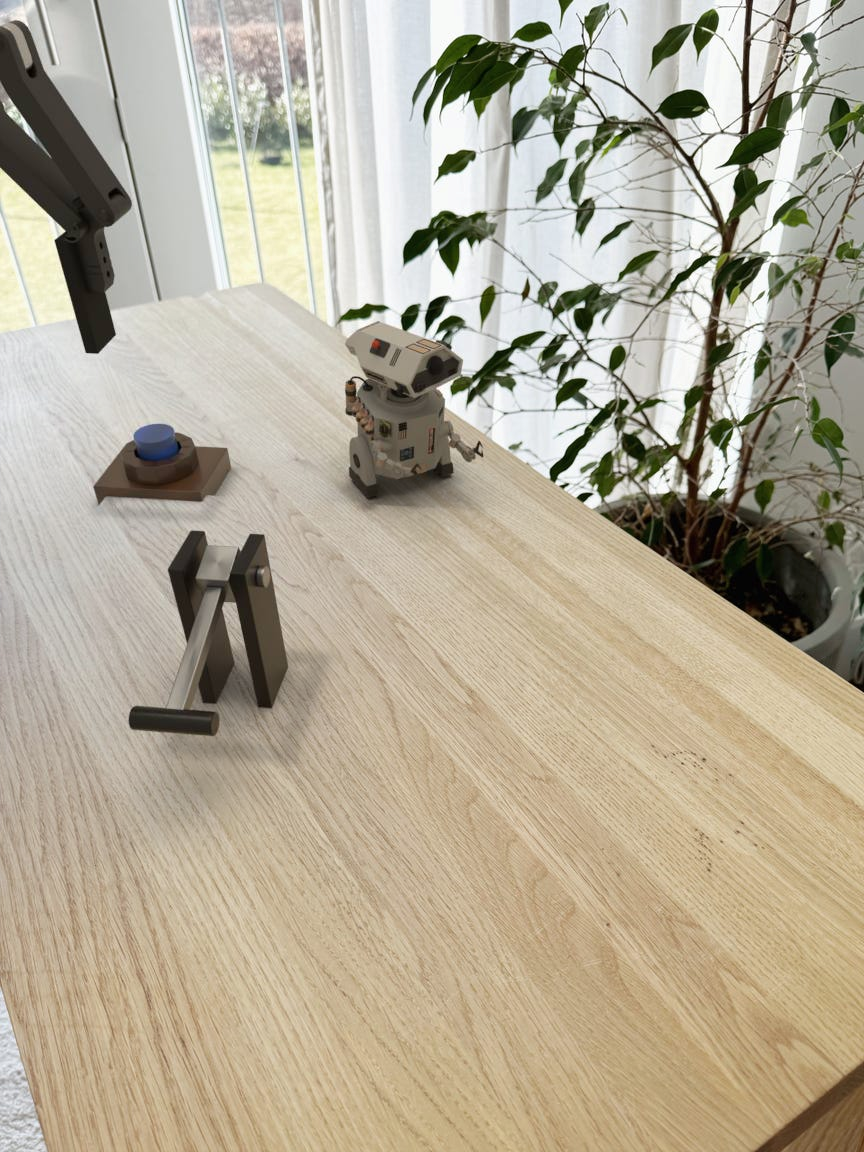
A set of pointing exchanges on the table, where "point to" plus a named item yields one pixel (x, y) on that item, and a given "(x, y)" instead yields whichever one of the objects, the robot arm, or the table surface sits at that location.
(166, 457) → the button
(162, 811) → the table surface
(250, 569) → the lever bracket
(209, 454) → the switch block
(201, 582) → the lever
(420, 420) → the figurine
